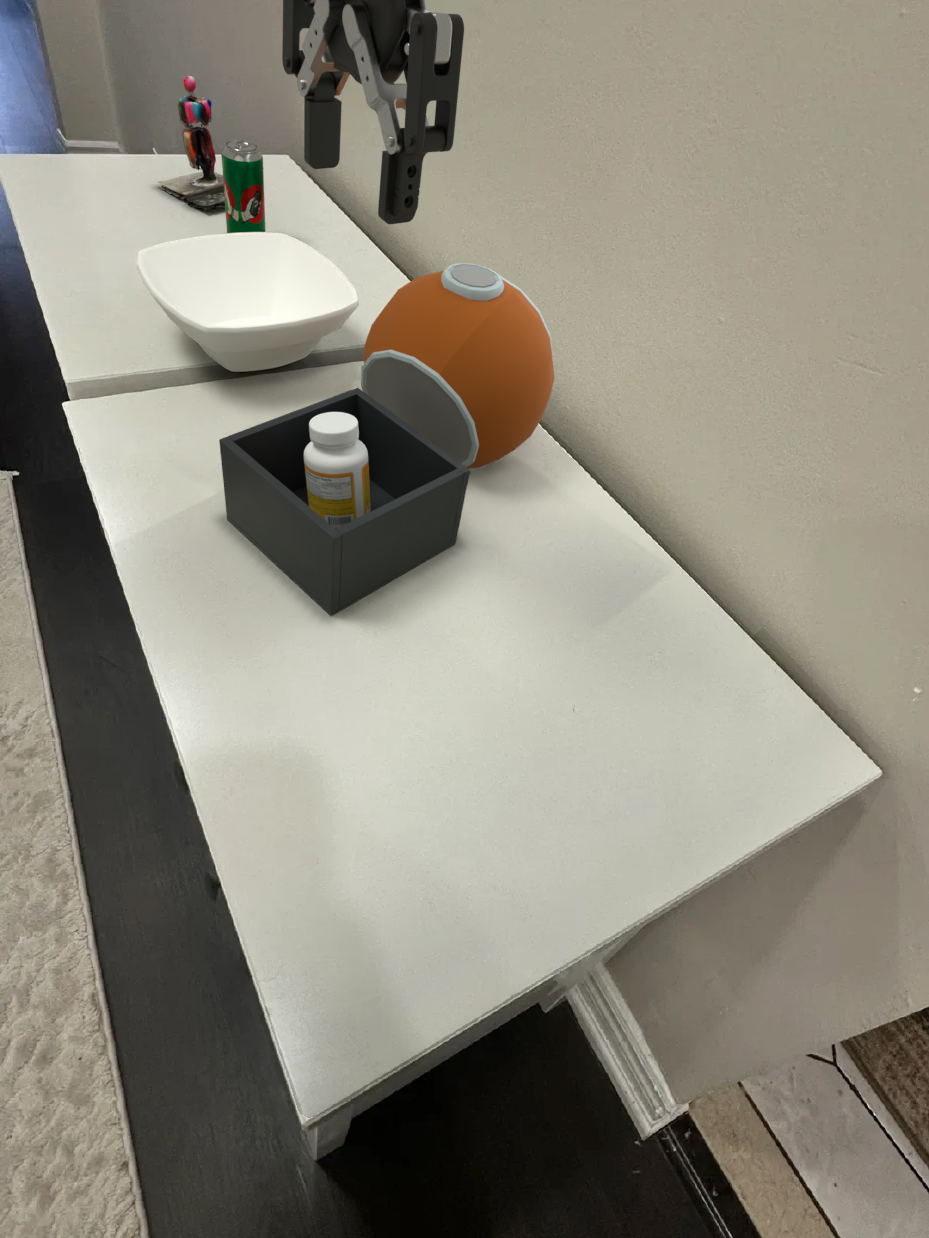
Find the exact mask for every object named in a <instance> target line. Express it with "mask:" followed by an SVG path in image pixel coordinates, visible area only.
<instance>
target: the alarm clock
mask: <svg viewBox="0 0 929 1238" xmlns="http://www.w3.org/2000/svg"><path fill="white" fill-rule="evenodd" d="M552 345H553V344H552V335H551V331H550V330H549V327H548V326H547V323H546V321H545V319H544V316H543V315H542V312H541V310H540V309H539V308H538V307H537V306H536V305H535V303H534V302H533V301H532V300H531V299H530V297H529V296H528V295H527V294H526V293H525V292H524V290H522V289H521V288H520V287H518V286H517V285H515V284H514V283H513V282H511V281H509V280H508V279H507V278H505V277H503V276H502V275H501V274H499V273H498V272H496V271H494V270H493V269H491V268H489V267H486V266H483V265H480V264H476V263H467V262H466V263H465V262H459V263H455V264H454V263H453V264H449V265H448V266H447V267H446V268H445V269H444V270H440V271H436V272H433V273H428V274H426V275H425V274H424V275H422V276H418V277H415V278H414V279H412V280H411V281H409V282H407V283H406V284H404V285H403V286H401V287H399V288H398V289H397V291H396V292H395V293H394V294H393V296H392V297H391V298H390V299H389V301H388V302H387V303H386V305H385V306H384V307H383V308H382V310H381V311H380V313H378V316H377V317H376V318H375V320H373V322H372V324H371V325H370V329H369V331H368V335H367V337H366V339H365V343H364V346H363V347H364V348H363V349H364V350H363V365H361V372H360V373H361V374H360V387H361V390H362V391H363V392H365V393H366V394H367V395H369V396H370V397H371V398H373V399H374V400H375V401H377V402H378V403H380V404H381V405H382V406H384V407H385V408H386V409H388V410H389V411H390V412H392V413H393V414H395V415H396V416H397V417H399V418H400V419H401V420H403V421H404V422H405V423H407V424H408V425H410V426H411V427H412V428H414V429H415V430H416V431H418V432H419V433H420V434H422V435H423V436H425V437H426V438H427V439H429V440H430V441H431V442H433V443H434V444H435V445H437V446H438V447H440V448H441V449H442V450H444V451H445V452H446V453H448V454H449V455H451V456H452V457H453V458H455V459H456V460H457V461H459V462H460V463H461V464H463V465H464V466H466V467H467V468H468V469H470V471H478V470H480V469H483V468H485V467H487V466H490V465H492V464H495V462H497V461H499V460H501V459H502V458H505V457H506V456H507V455H509V454H510V453H512V452H514V451H515V450H516V449H518V448H519V447H520V446H522V444H524V443H525V442H526V441H528V439H530V437H532V435H533V433H534V431H535V430H536V429H537V427H538V426H539V423H540V422H541V420H542V419H543V416H544V414H545V411H546V408H547V406H548V403H549V400H550V398H551V395H552V390H553V386H554V381H555V370H554V360H553V359H554V355H553V346H552Z"/></svg>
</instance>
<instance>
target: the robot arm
mask: <svg viewBox="0 0 929 1238" xmlns="http://www.w3.org/2000/svg"><path fill="white" fill-rule="evenodd" d="M304 29H308V30H307V33H306V35H305V37H304V40H303V43H302V45H301V49H300V43H301V41H300V40H301V39H300V38H301V37H300V35H301V31H302V30H304ZM464 36H465V23H464V19H463V18H462V16H461V14H459V13H447V12H439V11H437V12H435V11H431V10H427V5H426V0H282V45H281V47H282V48H281V49H282V51H281V54H282V55H281V57H282V58H281V60H282V61H281V62H282V67H283V70H284V72H285V74H286V75H294V76H295V77H296V80H297V81H296V84H297V85H296V86H297V90H298V93H299V95H300V96H301V97H303V98H304V99H303V100H304V105H303V107H304V111H303V113H304V115H303V116H304V117H303V118H304V119H303V121H304V122H303V124H304V126H303V128H304V129H303V133H304V134H303V146H304V147H303V150H304V151H303V159H304V162H305V164H306V165H308V166H309V167H311V168H312V169H314V170H323V169H334V168H336V167H337V166H338V165H339V164H340V159H341V134H342V133H341V130H342V105H343V104H342V103H343V102H342V100H340V99H339V98H337V97H339V96H341V94H342V92H343V90H344V87H345V85H346V83H347V81H348V80H349V77H350V76H351V77H352V78H353V79H354V81H355V82H357V83H358V84H360V85H361V86H362V91H363V94H364V98H365V102H366V104H367V106H368V107H369V108H370V109H371V110H373V111H374V112H375V113H376V116H377V118H378V124H379V128H380V131H381V135H382V139H383V143H384V147H385V150H382V151H381V152H382V153H381V164H380V165H381V167H380V180H379V193H378V206H377V207H378V208H377V215H378V218H379V219H380V220H382V222H384V223H386V224H387V225H396V224H404V223H410V222H412V221H413V220H414V218H415V216H416V213H417V210H418V208H419V200H420V197H419V196H420V191H421V190H420V188H421V181H422V180H421V179H422V170H423V163H424V158H425V156H426V155H427V154H428V153H439V152H440V153H443V152H450V151H451V150H452V148H453V146H454V139H455V130H456V129H455V127H456V120H457V119H456V118H457V109H458V98H459V89H460V88H459V87H460V78H461V68H462V57H463V47H464ZM402 74H403V75H404V78H405V79H404V80H405V83H396V82H397V81H398V80H399V79H400V77H401V76H402ZM430 102H435V110H434V111H435V112H434V125H430V121H429V116H428V111H427V110H428V105H429V103H430ZM398 109H403V110H404V111H405V112H404V114H405V115H404V127H401V123H400V119H399V115H398Z"/></svg>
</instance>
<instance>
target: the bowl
mask: <svg viewBox="0 0 929 1238" xmlns="http://www.w3.org/2000/svg"><path fill="white" fill-rule="evenodd" d="M136 270H137V272H138V274H139V276H140V279H141V281H142V283H143V285H144V286H145V288H146V289H147V291H148V292H149V294H150V295H151V297H152V298H153V299H154V300H155V301H156V304H158V305H159V307H160V308H161V310H162V311H163V312H164V313H165V315H166V316H167V317H168V318H169V320H170V322H172V323H173V324H174V325H175V326H176V327H177V328H179V329H180V331H181V332H183V333H184V334H186V336H188V337H189V338H191V340H193V341H194V342H196V343H197V344H198V345H199V346H200V347H201V349H202V350H203V352H204V353H206V354H207V355H208V356H209V358H211V359H212V360H213V361H215V362H216V363H217V364H219V365H220V366H221V367H223V368H224V369H225V370H228V371H230V372H234V373H242V372H255V371H264V370H269V369H275V368H279V367H283V366H286V365H289V364H293V363H294V362H298V361H300V360H303V359H305V358H307V357H308V356H309V355H310V354H311V352H312V351H313V350H314V349H315V347H316V346H317V345H318V344H319V343H320V341H321V340H322V339H323V337H325V336H328V335H330V334H332V333H335V332H336V331H337V330H339V329H341V328H342V327H343V326H344V324H345V323H346V322H347V321H348V319H349V318H350V317H351V316H352V315H353V313H354V312H355V311H356V310H357V309H358V308H359V306H360V299H359V296H358V293H357V290H356V288H355V286H354V285H353V284H352V283H351V281H350V279H348V277H347V276H346V275H345V274H344V273H343V271H342V270H341V269H340V268H339V267H337V265H336V264H335V263H334V262H333V261H331V260H330V259H329V258H327V257H326V256H324V255H323V254H322V253H321V252H319V251H317V250H316V249H315V248H313V247H311V246H310V245H309V244H307V243H305V242H304V241H303V240H300V239H297V238H295V237H293V236H290V235H289V234H286V233H284V232H267V231H266V232H244V233H227V232H226V233H217V234H207V235H199V236H193V237H187V238H180V239H176V240H175V239H174V240H170V241H166V242H161V243H157V244H154V245H152V246H148V247H145V248H142V249H140V250H138V252H137V255H136Z"/></svg>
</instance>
